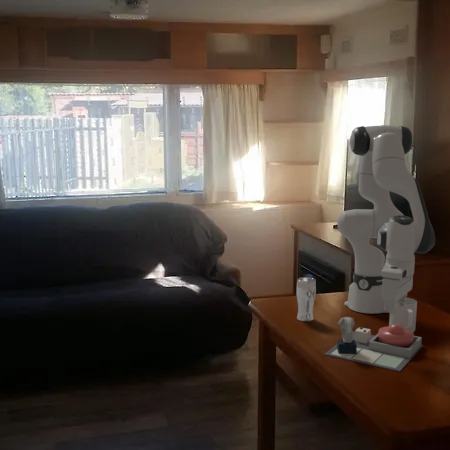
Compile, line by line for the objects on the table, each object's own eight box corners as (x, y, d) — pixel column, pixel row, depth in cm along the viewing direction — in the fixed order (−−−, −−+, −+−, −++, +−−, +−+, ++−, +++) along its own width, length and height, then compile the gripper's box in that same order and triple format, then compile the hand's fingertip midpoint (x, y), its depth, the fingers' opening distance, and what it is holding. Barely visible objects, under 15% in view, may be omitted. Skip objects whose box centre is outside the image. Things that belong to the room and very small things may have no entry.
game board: (352, 332, 218) (353, 319, 218) (422, 345, 206) (423, 332, 205) (324, 354, 198) (324, 341, 197) (399, 371, 185) (400, 357, 184)
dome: (384, 332, 211) (385, 316, 210) (417, 339, 205) (418, 322, 204) (373, 342, 202) (374, 325, 201) (407, 349, 196) (408, 332, 195)
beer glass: (314, 322, 228) (315, 282, 226) (294, 321, 230) (296, 281, 227) (315, 316, 235) (316, 277, 232) (296, 315, 236) (297, 276, 234)
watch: (353, 346, 204) (355, 314, 202) (357, 356, 196) (358, 322, 194) (336, 346, 204) (337, 313, 202) (338, 355, 196) (340, 321, 194)
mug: (385, 327, 224) (386, 297, 222) (409, 326, 224) (411, 296, 222) (397, 339, 212) (398, 307, 210) (422, 338, 213) (424, 307, 211)
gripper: (399, 260, 209) (397, 300, 212) (379, 272, 192) (377, 316, 195) (418, 262, 206) (416, 303, 208) (400, 275, 189) (397, 319, 191)
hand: (397, 309), depth 201 cm, fingers open, 8 cm apart
